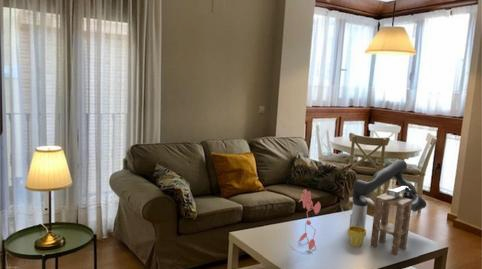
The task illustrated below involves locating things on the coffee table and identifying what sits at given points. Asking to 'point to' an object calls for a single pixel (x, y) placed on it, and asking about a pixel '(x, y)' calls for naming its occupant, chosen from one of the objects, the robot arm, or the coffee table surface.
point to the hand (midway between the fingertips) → (402, 187)
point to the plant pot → (356, 235)
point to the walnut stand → (393, 229)
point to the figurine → (307, 203)
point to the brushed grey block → (396, 191)
